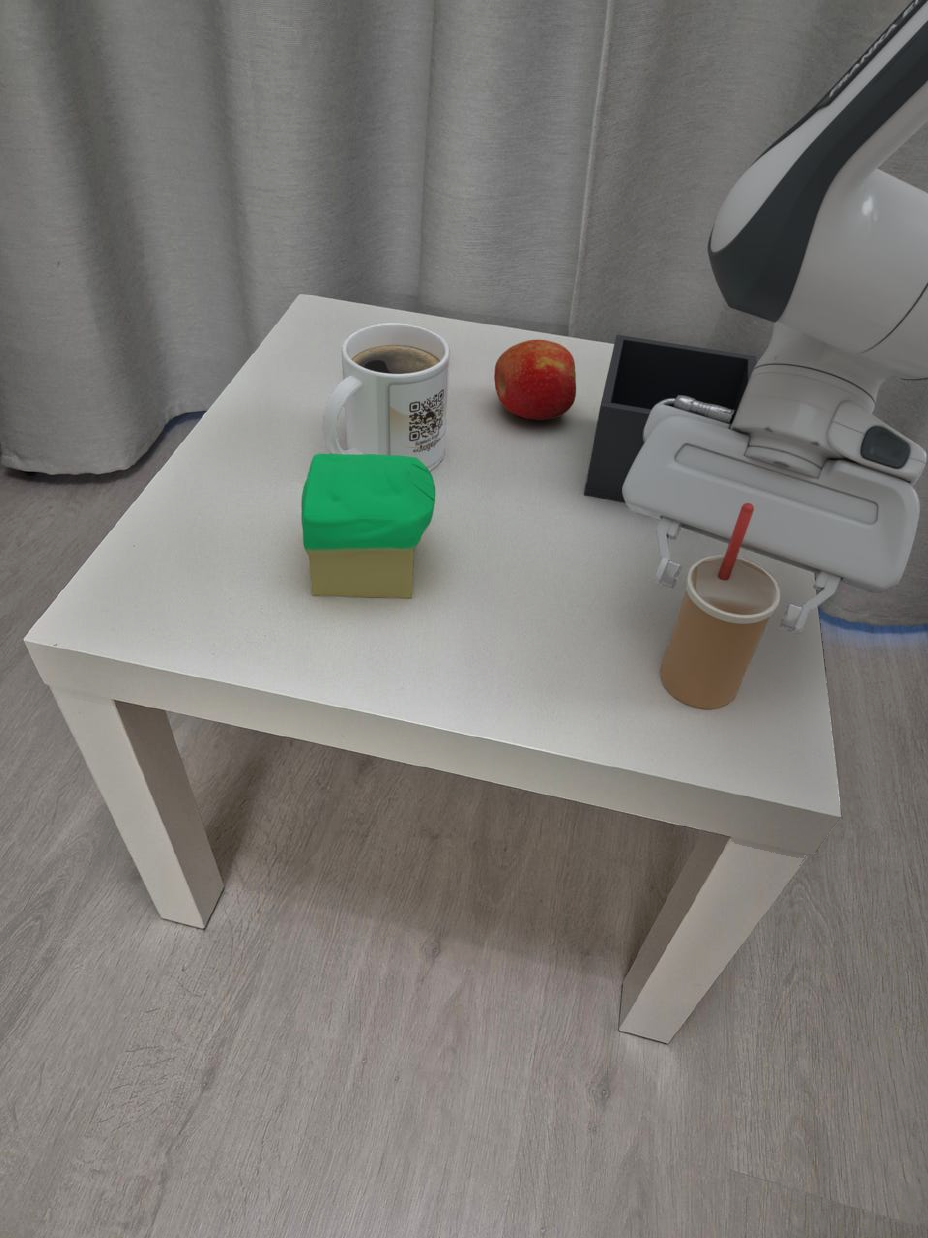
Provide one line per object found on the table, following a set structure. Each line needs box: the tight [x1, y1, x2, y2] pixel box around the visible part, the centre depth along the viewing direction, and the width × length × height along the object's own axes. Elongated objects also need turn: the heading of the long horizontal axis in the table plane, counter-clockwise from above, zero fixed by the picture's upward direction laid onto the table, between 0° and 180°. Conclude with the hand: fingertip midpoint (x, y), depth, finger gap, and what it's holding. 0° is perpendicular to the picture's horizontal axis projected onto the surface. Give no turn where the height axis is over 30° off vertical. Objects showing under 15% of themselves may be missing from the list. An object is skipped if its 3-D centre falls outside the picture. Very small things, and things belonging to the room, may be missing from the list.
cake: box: [300, 452, 436, 599], centre depth 72 cm, size 10×11×10 cm
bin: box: [583, 334, 757, 503], centre depth 84 cm, size 14×14×10 cm
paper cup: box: [659, 503, 781, 710], centre depth 62 cm, size 6×6×16 cm
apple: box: [493, 339, 577, 421], centre depth 91 cm, size 8×8×8 cm
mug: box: [322, 322, 450, 472], centre depth 83 cm, size 10×12×11 cm
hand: (724, 607), depth 64 cm, fingers open, 8 cm apart
